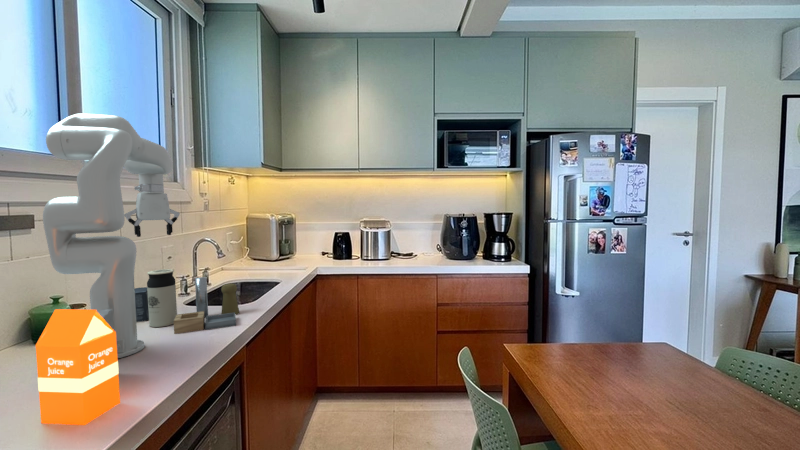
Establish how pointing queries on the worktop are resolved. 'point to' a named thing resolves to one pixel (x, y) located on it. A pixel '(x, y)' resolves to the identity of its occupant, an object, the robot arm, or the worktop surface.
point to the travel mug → (161, 298)
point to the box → (141, 304)
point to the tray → (220, 321)
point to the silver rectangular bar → (201, 295)
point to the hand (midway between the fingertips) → (154, 235)
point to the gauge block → (189, 322)
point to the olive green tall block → (229, 299)
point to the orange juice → (77, 367)
